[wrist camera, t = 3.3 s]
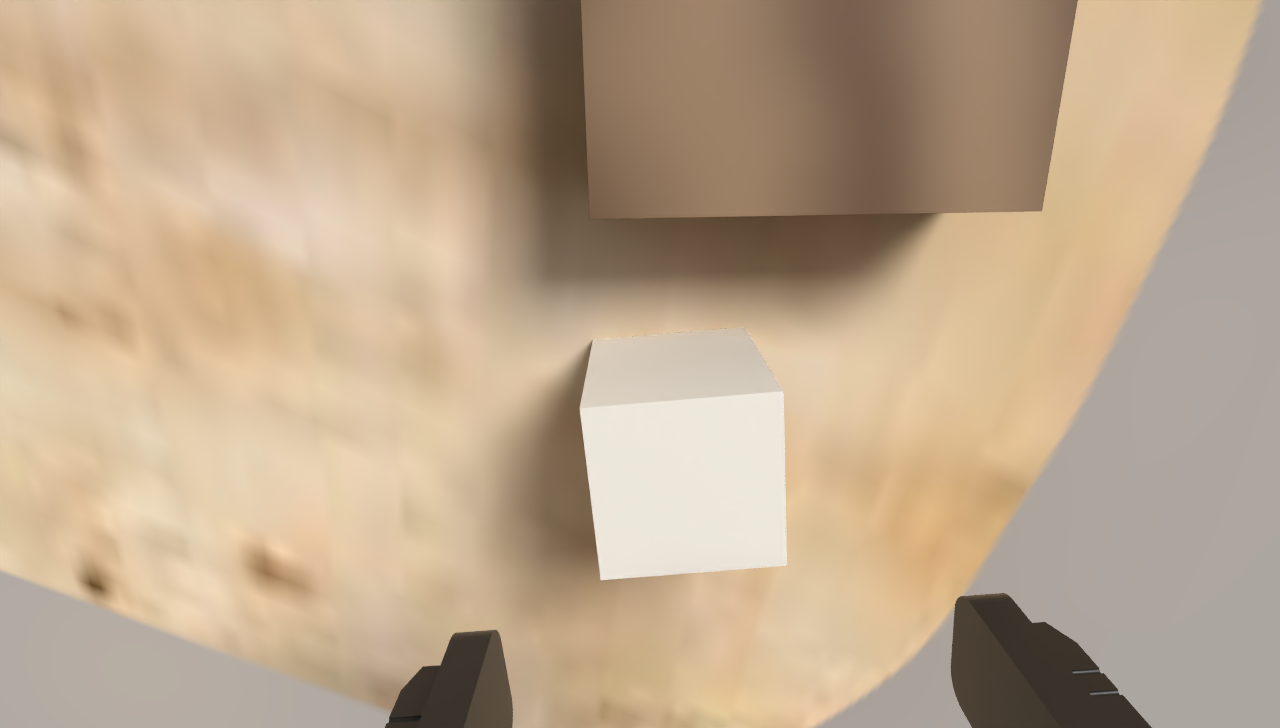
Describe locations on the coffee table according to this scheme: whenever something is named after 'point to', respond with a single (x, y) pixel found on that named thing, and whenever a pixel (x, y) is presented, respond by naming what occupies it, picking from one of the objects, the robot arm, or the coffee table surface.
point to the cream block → (684, 454)
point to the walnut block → (821, 105)
